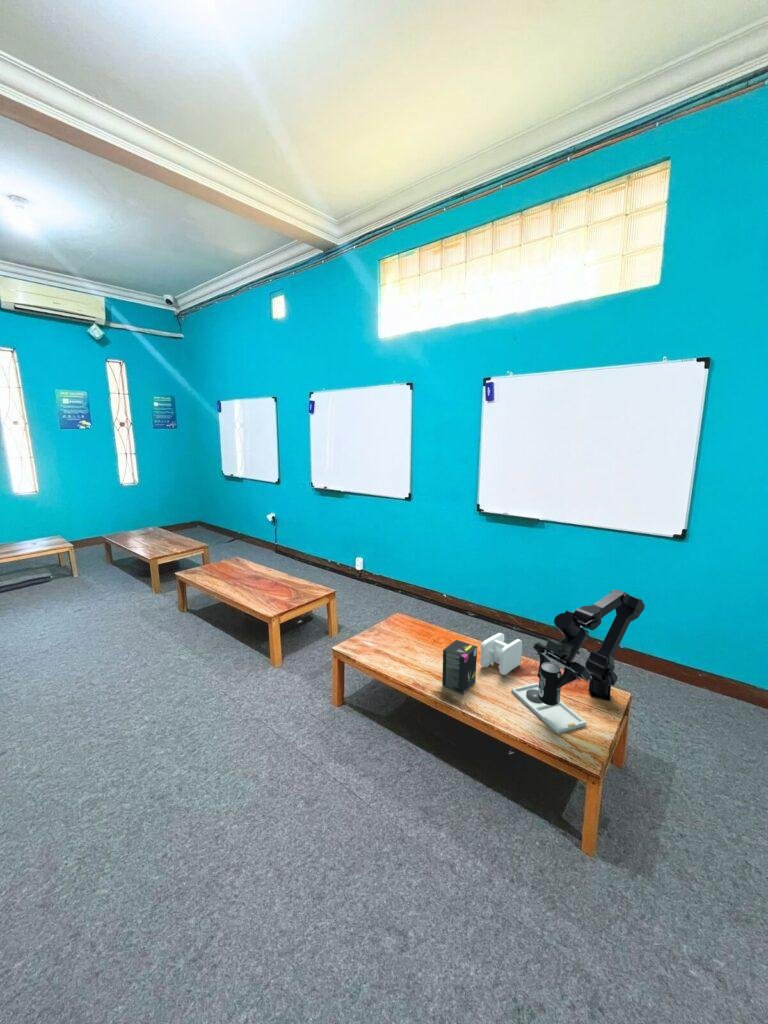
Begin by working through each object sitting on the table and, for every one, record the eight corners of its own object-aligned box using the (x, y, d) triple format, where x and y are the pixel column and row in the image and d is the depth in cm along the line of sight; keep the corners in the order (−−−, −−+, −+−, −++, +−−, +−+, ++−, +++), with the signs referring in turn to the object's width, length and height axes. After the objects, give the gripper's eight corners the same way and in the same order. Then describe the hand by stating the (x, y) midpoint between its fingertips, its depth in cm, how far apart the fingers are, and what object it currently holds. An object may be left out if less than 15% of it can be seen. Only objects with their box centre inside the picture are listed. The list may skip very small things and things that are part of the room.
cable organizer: (501, 679, 155) (503, 651, 153) (478, 668, 163) (479, 641, 161) (521, 665, 165) (523, 638, 163) (498, 655, 173) (500, 630, 171)
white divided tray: (537, 685, 150) (537, 681, 150) (586, 725, 129) (586, 721, 129) (511, 692, 147) (511, 687, 146) (557, 734, 125) (557, 729, 125)
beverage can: (534, 695, 134) (535, 663, 132) (551, 692, 135) (553, 660, 133) (545, 708, 128) (547, 674, 126) (564, 705, 129) (566, 671, 127)
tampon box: (463, 695, 145) (465, 657, 143) (441, 685, 150) (442, 649, 148) (476, 681, 154) (478, 645, 151) (455, 672, 159) (456, 638, 157)
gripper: (537, 620, 137) (513, 658, 134) (587, 643, 121) (560, 687, 118) (552, 635, 142) (528, 672, 139) (601, 660, 126) (576, 702, 123)
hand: (547, 682), depth 130 cm, fingers closed on beverage can, 7 cm apart
